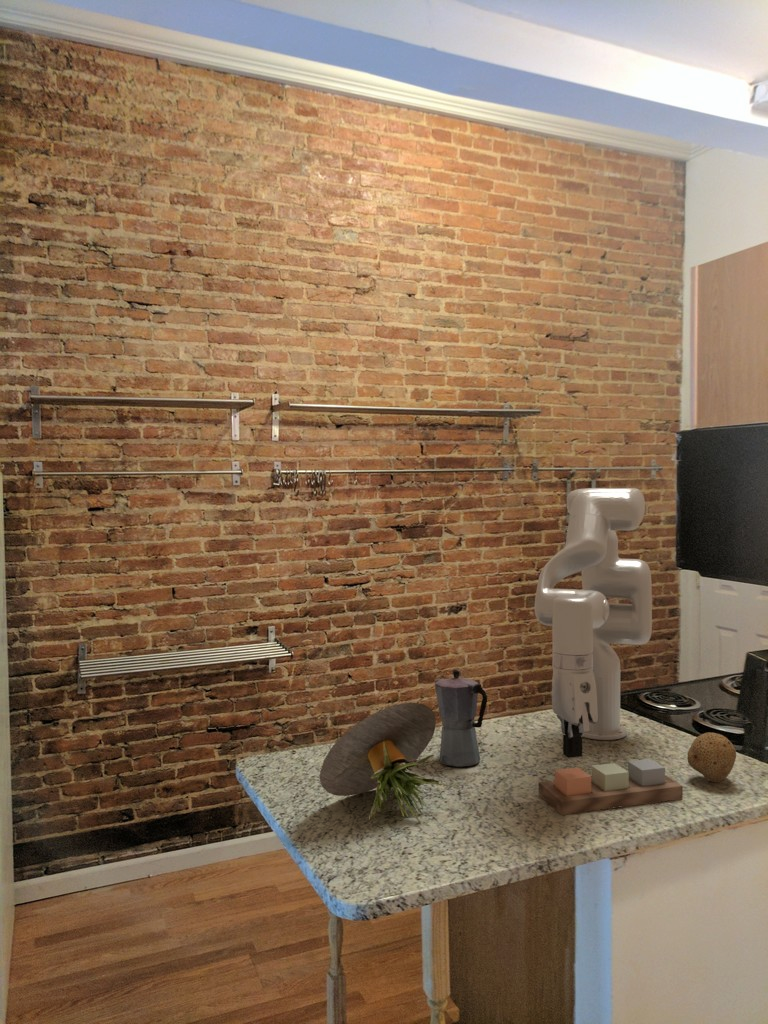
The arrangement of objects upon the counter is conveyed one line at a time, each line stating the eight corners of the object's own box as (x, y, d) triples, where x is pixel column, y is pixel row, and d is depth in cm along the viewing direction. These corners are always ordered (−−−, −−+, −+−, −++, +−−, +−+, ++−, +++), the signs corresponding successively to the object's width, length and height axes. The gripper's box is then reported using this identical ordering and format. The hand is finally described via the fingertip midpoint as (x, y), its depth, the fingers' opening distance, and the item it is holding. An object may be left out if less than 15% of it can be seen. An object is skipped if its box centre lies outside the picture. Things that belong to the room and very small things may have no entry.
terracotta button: (567, 800, 148) (567, 779, 148) (554, 790, 153) (554, 770, 152) (591, 797, 149) (591, 776, 149) (578, 787, 154) (578, 767, 154)
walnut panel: (561, 814, 145) (561, 801, 145) (538, 794, 154) (538, 782, 154) (682, 798, 152) (682, 785, 152) (653, 780, 161) (653, 768, 161)
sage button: (605, 795, 150) (605, 774, 150) (591, 785, 155) (591, 765, 155) (628, 792, 151) (628, 772, 151) (614, 782, 156) (614, 763, 156)
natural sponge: (687, 786, 157) (687, 737, 157) (686, 770, 166) (687, 724, 165) (737, 792, 154) (737, 742, 154) (734, 776, 163) (734, 728, 162)
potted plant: (320, 869, 140) (380, 795, 127) (293, 780, 152) (345, 703, 138) (432, 848, 154) (496, 779, 141) (399, 768, 165) (456, 698, 152)
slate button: (642, 790, 152) (642, 770, 152) (627, 781, 157) (627, 761, 157) (664, 787, 153) (665, 767, 153) (649, 778, 158) (649, 758, 158)
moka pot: (449, 747, 182) (448, 661, 181) (503, 764, 171) (502, 673, 170) (421, 758, 175) (420, 669, 174) (475, 776, 164) (474, 681, 163)
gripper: (611, 668, 143) (611, 767, 144) (571, 651, 158) (571, 741, 159) (574, 671, 142) (574, 772, 142) (536, 653, 156) (537, 745, 157)
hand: (572, 755), depth 150 cm, fingers closed
